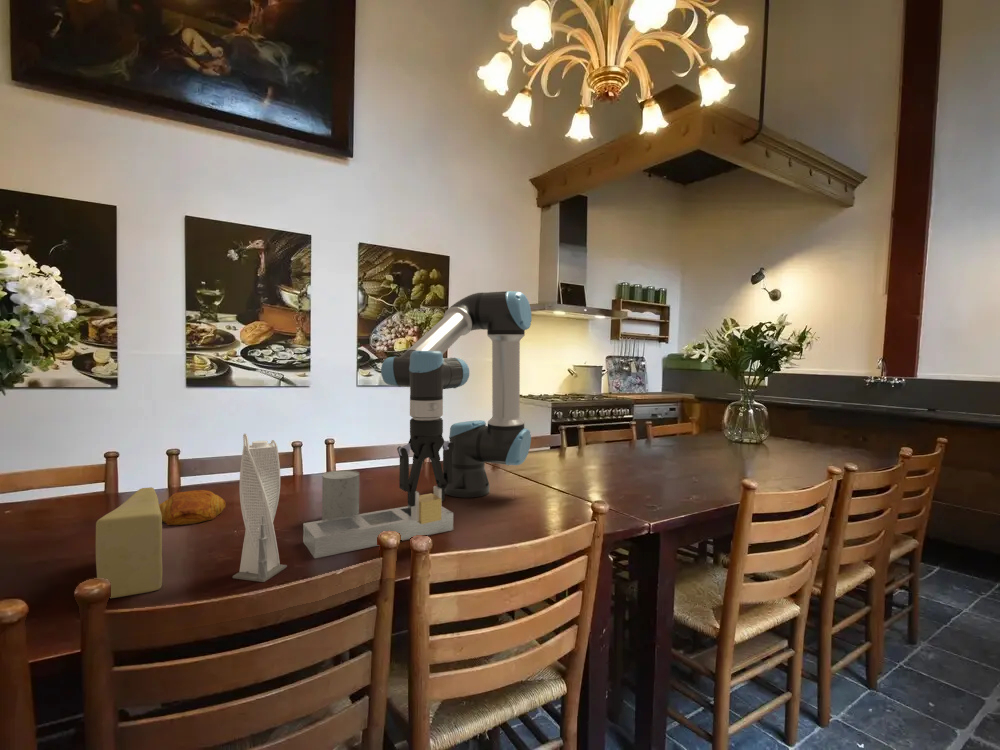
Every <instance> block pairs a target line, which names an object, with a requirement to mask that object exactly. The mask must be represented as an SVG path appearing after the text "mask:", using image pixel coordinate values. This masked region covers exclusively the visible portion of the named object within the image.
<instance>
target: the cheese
mask: <svg viewBox="0 0 1000 750" xmlns="http://www.w3.org/2000/svg"><path fill="white" fill-rule="evenodd" d="M159 504H160V502H159V498H158V495H157V492H156V491H155V488H154V487H142V488H139V489H138V490H137V491H135V492H134V493H133V494H132V495H131V496H130V497H129V498H128V499H127V500H125V501H124V502H123V503H122V504H121V505H119V506H118V507H116V508H115V509H114V510H111V511H110V512H108V513H106V514H105V515H103V516H102V517H100V518H99V519H98V520H97V521H96V522H95V566H96V567H95V568H96V579H97V578H104V579H108V580H109V581H110V582H111V597H110V599H116V598H122V597H128V596H133V595H134V596H135V595H140V594H145V593H151V592H154V591H158V590H160V589H161V588H162V584H163V554H162V553H163V552H162V551H163V548H162V547H163V545H162V544H163V521H162V515H161V511H160V507H159Z"/></svg>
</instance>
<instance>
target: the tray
mask: <svg viewBox="0 0 1000 750" xmlns="http://www.w3.org/2000/svg"><path fill="white" fill-rule="evenodd" d="M302 525H303V527H302V528H303V530H302V531H303V532H302V533H303V535H302V536H303V538H302V539H303V541H302V542H303V544H304V545H305V547H306V548H307V550H308V551H309V552H310V554H311V556H312V557H313V558H314V559H320V558H325V557H330V556H333V555H339V554H344V553H348V552H352V551H357V550H362V549H363V550H364V549H368V548H374V547H378V546H379V545H377V537H378V535H379V534H380V533H381V532H383V531H389V530H390V531H396V532H398V533H400V535H401V540H402V541H401V542H403V541H407V540H411V539H410V538H411V537H413V536H416V535H427V536H432V535H436V534H441V533H446V532H451V531H453V530H454V512H453V511H451V510H449V509H447V508H446V507H444V506H442V516H441V520H439V521H434V522H429V523H425V524H420V523H419V522H418V521H415V520H414V519H412V518H411V506H409V505H408V504H407V506H401V507H395V508H389V509H387V508H386V509H383V510H376V511H371V512H363V513H359V514H357V515H351V516H345V517H339V518H332V519H326V520H322V519H320V520H316V521H309V522H303V524H302Z"/></svg>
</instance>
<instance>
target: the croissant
mask: <svg viewBox="0 0 1000 750" xmlns="http://www.w3.org/2000/svg"><path fill="white" fill-rule="evenodd" d="M226 503H227V502H226V501H225V500H224V498H222V497H221V496H219V495H218V494H215V493H214V492H213V491H211V490H205V489H197V490H188V491H180V492H178V491H177V492H175V493H173V494H172V495H171V496H170V497H169V498H168V499H166V500H164V501H163V502H161V503H159V507H160V511H161V515H162V523H165V524H166V525H167V526H184V525H193V524H194V525H195V524H199V523H203V522H206V521H212V520H215V519H216V517H218V516H219V515H220V514H221V513H222V512H223V511H224V509H225V508H226V506H227V505H226Z"/></svg>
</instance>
